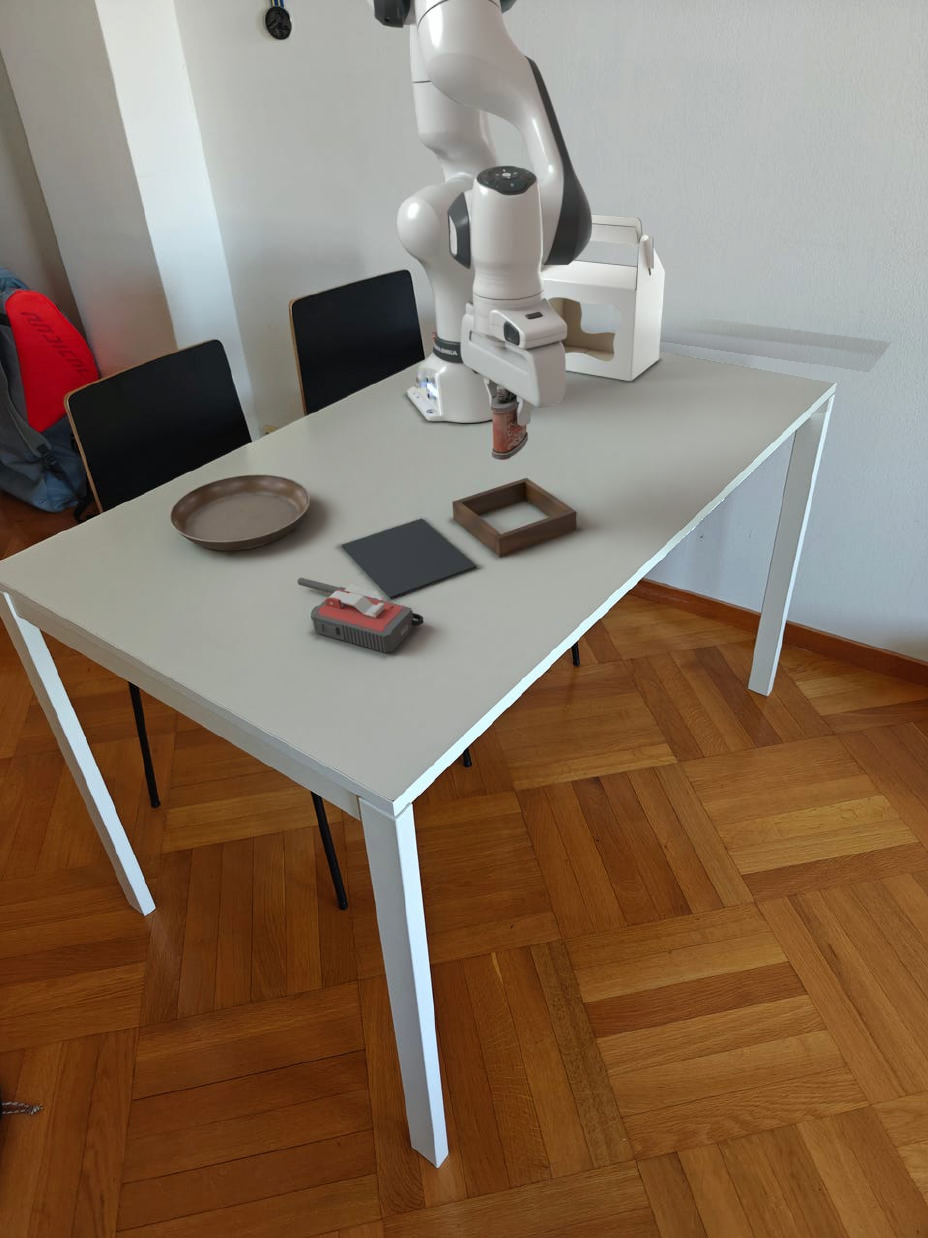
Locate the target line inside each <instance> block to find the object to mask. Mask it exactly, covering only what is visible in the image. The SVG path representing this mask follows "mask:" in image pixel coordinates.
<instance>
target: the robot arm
mask: <svg viewBox="0 0 928 1238" xmlns="http://www.w3.org/2000/svg"><path fill="white" fill-rule="evenodd" d="M517 1H518V0H366V2H367V4H368V6H369V8H370V10H371V11H372V13H373V17H374V18H375V19H376V20H377V21H378V22H379V24H381V25H382V26H384V27H390V28H395V29H396V28H397V29H404V26H409V60H410V61H409V62H410V74H411V82H412V83H411V86H412V94H413V101H414V102H413V103H414V110H415V119H416V128H417V134H418V137H419V140H420V142H421V143H422V145H423V146H424V147H426V148H427V149H428V150H429V151H432V153H434V154H435V157H436V158H437V160H438V162H439V164H440V167H441V170H442V173H443V178H444V181H442V182H437V183H434V184H431V185H427V186H424V187H422V188H421V189H419V190H418V191H416V192H414V193H413V194H412V195H410V196H409V197H408V198H406V199H405V200H404V201H403V202H402V203H401V205H400V207H399V209H398V210H397V215H396V232H397V236H398V238H399V241H400V243H401V245H402V247H403V248H404V250H405V251H406V252H407V253H408V254H409V255H410V257H413V259H415V260H417V262H419V264H420V265H421V267H422V268H423V270H424V272H425V274H426V276H427V279H428V281H429V284H430V288H431V291H432V297H433V304H434V305H433V306H434V314H435V315H434V317H435V325H436V326H435V327H436V331H433V332H431V334H432V335H434V336H431V339H433V342H432V345H433V346H432V352H431V354H429V355H428V356H427V357H426V358H425V359H424V360H423V361H422V362H420V364H419V366H418V368H417V375H416V376H415V383H416V384H415V385H413V386H411V387H410V388H408V389H407V392H406V395H407V397H408V398H409V399H410V400H411V402H412V403H413V404H414V406H415V407H416V408H417V409H418V411H419V412H420V413H421V415H422V416H423V417H424V418H425V419H426V421H428V422H450V423H459V424H460V423H463V424H471V423H480V422H486V421H490V420H493V417H492V411H491V402H492V401H493V399H494V398H495V397H496V396H497V386H499V385H501V386H503V387H505V388H506V389H507V390H508V391H510V392H512V393H514V394H515V395H517V402H519V406H518V409H517V410H514V411H513V416H514V419H513V420H514V422H515V423H517V424H518V425H520V426H524V425H526V426H527V425H529V424H531V421H532V420H531V417H532V415H531V412H532V410H533V408H534V407H535V408H537V409H543V408H548V407H551V406H555V405H557V404H559V403H560V402H561V401H562V400H563V398H564V396H565V393H566V392H565V391H566V375H567V374H566V373H567V372H566V358H565V350H564V347H563V345H562V343H561V342H560V340H563V339H565V338H566V337H567V325H566V323H565V321H564V320H563V319H562V318H561V317H560V316H559V315H558V314H557V313H556V312H555V311H554V309H553V308H552V307H551V305H550V304H549V302H548V300H547V299H546V298H544V284H543V279H542V276H541V264H543V265H569V264H570V263H571V262H572V261H574V260H577V258H578V257H579V256H580V255H581V254H582V253H583V252H584V250H585V249H586V248H587V246H588V244H589V243H590V242H591V241H590V239H591V234H592V216H591V214H592V211H591V206H590V203H589V199H588V197H587V194H586V192H585V190H584V188H583V185H582V184H581V182H580V180H579V178H578V175H577V173H576V171H575V168H574V166H573V163H572V160H571V156H570V153H569V150H568V148H567V145H566V141H565V138H564V136H563V133H562V130H561V126H560V123H559V120H558V117H557V114H556V111H555V108H554V106H553V102H552V99H551V96H550V94H549V90H548V87H547V86H546V83H545V80H544V78H543V75H542V73H541V70H540V69H539V66H538V65H537V63H536V62H535V60H533V59H532V58H530V57H528V56H526V55H525V54H524V53H523V52H522V51H521V50H520V49H519V47H518V46H517V45H516V44H515V42H514V41H513V39H512V38H511V35H510V34H509V32H508V30H507V28H506V26H505V22H504V17H503V14H504V13H506V12H508V11H509V10H511V9H512V8H513V6H514V4H516V2H517ZM488 113H489V114H492V115H494V116H496V117H499V118H501V119H503V120H505V121H507V122H508V123H510V124H511V125H513V126H514V127H515V128H516V129H517V130H518V132H519V133H520V134H521V136H522V139H523V142H524V143H525V148H526V150H527V154H528V157H529V160H530V163H531V165H532V169H533V171H534V172H532V171H531V170H528V169H527V168H524V167H520V166H515V165H502V162H501V160H500V159H499V156H498V153H497V151H496V148H495V144H494V141H493V139H492V133H491V130H490V122H489V114H488Z"/></svg>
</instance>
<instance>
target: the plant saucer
mask: <svg viewBox="0 0 928 1238" xmlns="http://www.w3.org/2000/svg"><path fill="white" fill-rule="evenodd" d="M310 503H311V495H310V492H309V491H308V489H307V488H306V487H305V486H304V485H302V483H299V482H298V481H296V480H293V479H291V478H288V477H285V476H282V475H274V474H259V473H257V474H242V475H234V476H229V477H225V478H222V479H217V480H214V481H211V482H208V483H205V484H203V485H200V486H198V487H196V488H194V489H192V490H191V491H188V492H187V493H186V494H184V495H183V496H181V497H180V498H179V499H178V500H177V501H176V502H175V503H174V504H173V506H172V508H171V509H170V511H169V522H170V524H171V526H172V527H173V529H174V530H175V531H176V532H177V533H178V534H179V535H180V536H182V537H183V538H185V539H186V540H188V541H190V542H192V543H194V544H196V545H198V546H201V547H204V548H208V549H212V550H218V551H241V550H249V549H253V548H258V547H261V546H264V545H268V544H270V543H273V542H275V541H278V540H279V539H281V538H283V537H284V536H286V535H287V534H288V533H290V532H291V531H293V529H295V527H296V526H297V525H298V524H299V523H300V522H301V521H302V519H303V518H304V517H305V515H306V513H307V511H308V509H309V506H310Z"/></svg>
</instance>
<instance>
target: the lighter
mask: <svg viewBox="0 0 928 1238" xmlns="http://www.w3.org/2000/svg"><path fill="white" fill-rule="evenodd" d="M518 406H519V402H517V395H515V394H514V393H512V392H510V391H508V390H507V389H506V388H505V387H503V386H501V385H499V386H497V396H496V397H495V398H494V399H493V401H492V402H491V411H492V417H493V419H492V449H491V457H492V458H493V459H495V460H497V461H507V460H510V459H511V458H512V457H514V456H515V455H517V454H518V453H519V452H521V450H523V448H524V447H525V446H526V444H527V442H528V440H529V433H528V432H527V425H524V426H520V425H518V424H517V423H515V422H514V420H513V419H514V416H513V411H514V410H517V409H518Z"/></svg>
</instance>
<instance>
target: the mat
mask: <svg viewBox="0 0 928 1238" xmlns="http://www.w3.org/2000/svg"><path fill="white" fill-rule="evenodd" d="M341 548H342V549H343V550H344V551H345V552H346V553H347V554H348V555H349V557H351V558H352V559H353V561H355V563H356V564H357V565H358V566H359V567H360V568H361V570H363V571H364V573H366V574H367V575H368V576H369V578H371V580H372V581H373V582H374V583H375V584H376V585H377V586H378V587H379V588H380V589H381V591H383V592H384V594H385V595H386V596H387V597H388V598H389V599H390V600H392V599H395V598H398V597H400V596H403V595H407V594H409V593H412V592H414V591H417V590H421V589H422V588H426V587H428V586H432V585H434V584H436V583H439V582H443V581H445V580H447V579H450V578H453V577H456V576H458V575H462V574H464V573H467V572H470V571H472V570H476V569H477V565H476V564H475V563H474V562H473V561H471V559H469V558H468V557H467V556H466V555H465V554H463V553H462V551H460V550H459V549H458V548H457V547H455V546H454V545H453V544H452V543H451V542H450V541H448V540H447V539H446V538H445V537H443V536H442V535H441V534H440V533H439V532H438V531H437V530H436V529H434V528H433V527H432V526H431V525H430V524H429V523H427V522H426V521H425V520H424V519H423V518H419V519H416V520H413V521H409V522H406V523H403V524H400V525H397V526H395V527H392V528H391V527H390V528H388V529H385V530H382V531H379V532H376V533H373V534H370V535H367V536H364V537H361V538H358V539H355V540H352V541H349V542H345V543H342V544H341Z"/></svg>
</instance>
